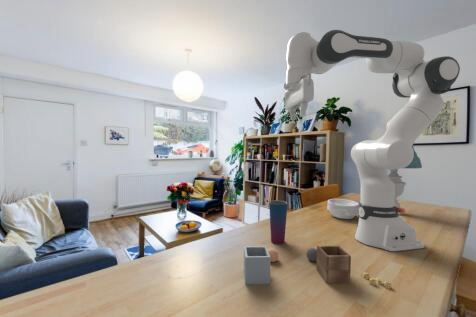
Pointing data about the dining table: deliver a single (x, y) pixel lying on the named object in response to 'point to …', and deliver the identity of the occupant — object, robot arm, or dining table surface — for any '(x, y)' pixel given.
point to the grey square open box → (256, 265)
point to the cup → (278, 221)
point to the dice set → (373, 281)
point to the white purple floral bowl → (343, 208)
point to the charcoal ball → (312, 254)
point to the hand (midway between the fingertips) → (297, 118)
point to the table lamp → (397, 179)
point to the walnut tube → (333, 264)
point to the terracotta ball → (273, 254)
